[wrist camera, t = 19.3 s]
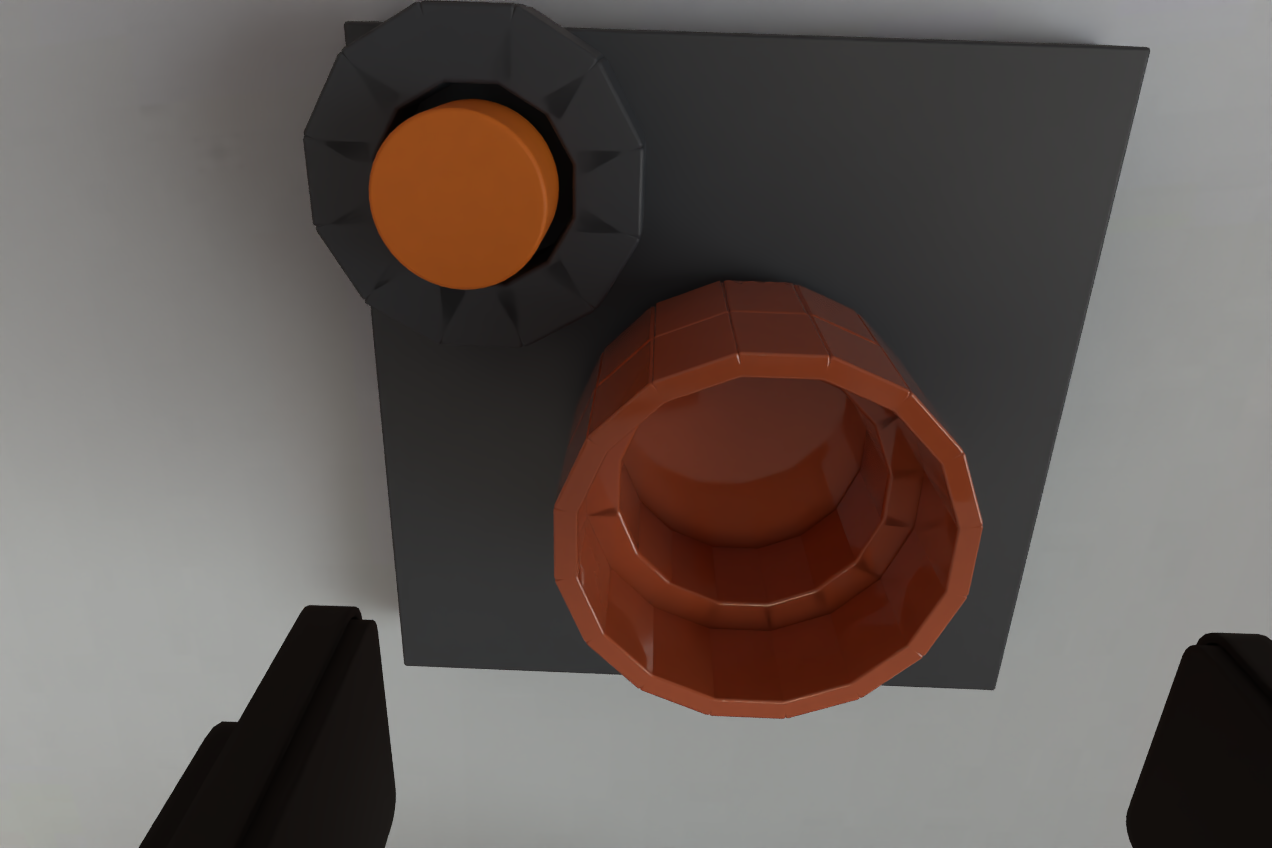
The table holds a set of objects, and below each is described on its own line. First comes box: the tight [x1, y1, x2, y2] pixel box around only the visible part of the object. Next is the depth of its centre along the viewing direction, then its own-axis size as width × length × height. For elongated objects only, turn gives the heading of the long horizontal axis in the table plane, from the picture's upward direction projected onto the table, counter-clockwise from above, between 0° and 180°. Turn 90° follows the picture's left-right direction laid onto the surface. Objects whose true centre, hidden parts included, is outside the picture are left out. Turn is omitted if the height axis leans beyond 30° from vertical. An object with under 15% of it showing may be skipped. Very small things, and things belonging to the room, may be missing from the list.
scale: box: [303, 0, 1150, 690], centre depth 18 cm, size 14×14×4 cm
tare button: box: [369, 99, 559, 290], centre depth 15 cm, size 3×3×2 cm
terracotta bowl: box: [553, 280, 983, 719], centre depth 17 cm, size 7×7×5 cm
